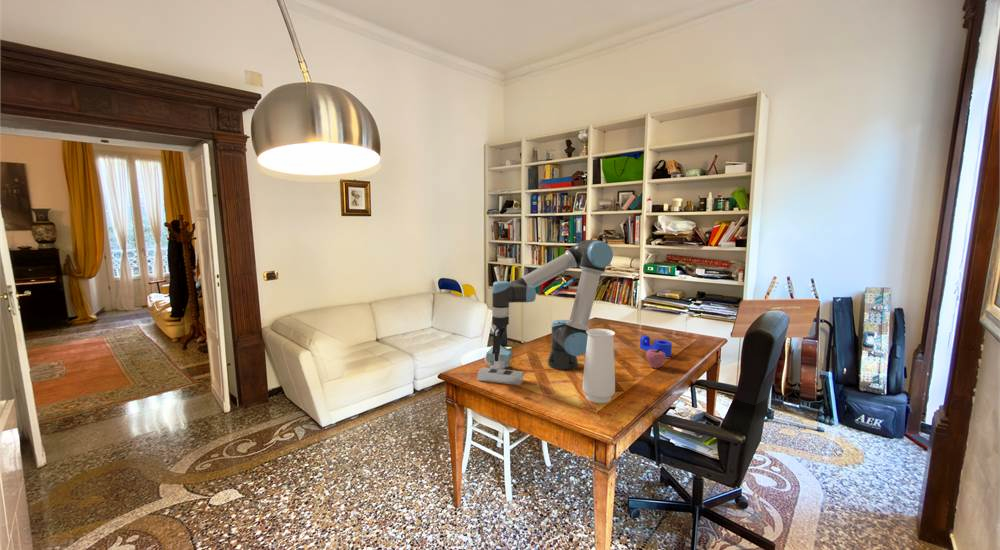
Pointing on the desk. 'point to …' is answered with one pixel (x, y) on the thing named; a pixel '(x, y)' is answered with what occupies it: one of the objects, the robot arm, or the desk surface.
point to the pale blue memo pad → (504, 356)
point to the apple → (655, 358)
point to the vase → (599, 366)
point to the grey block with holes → (500, 376)
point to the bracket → (656, 345)
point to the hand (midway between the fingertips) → (499, 363)
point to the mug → (502, 365)
